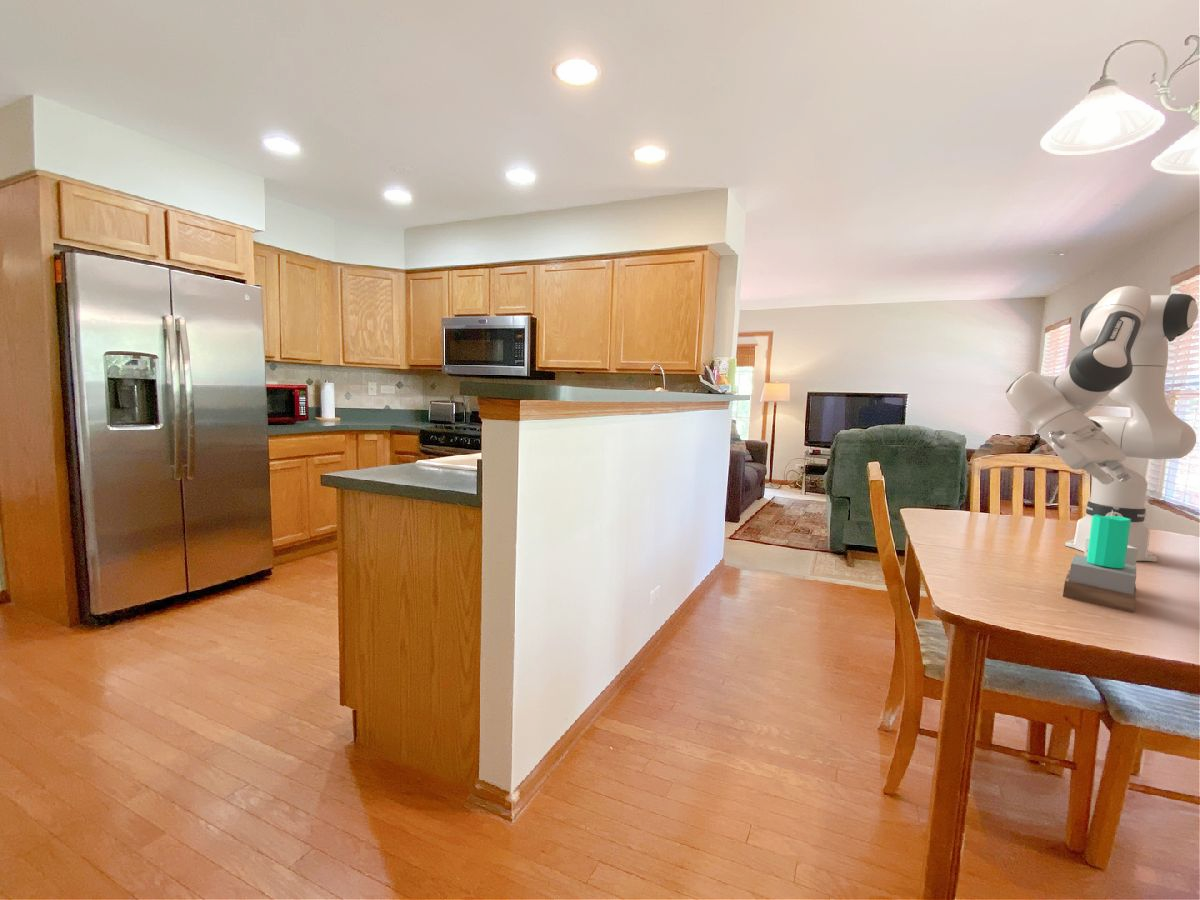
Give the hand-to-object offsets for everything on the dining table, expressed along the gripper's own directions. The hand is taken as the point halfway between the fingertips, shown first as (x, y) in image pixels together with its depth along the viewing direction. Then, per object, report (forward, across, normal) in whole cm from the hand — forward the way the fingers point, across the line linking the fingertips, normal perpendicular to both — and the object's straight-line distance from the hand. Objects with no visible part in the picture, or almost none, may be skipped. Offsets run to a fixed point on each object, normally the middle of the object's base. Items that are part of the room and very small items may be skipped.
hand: (1119, 481), depth 112 cm
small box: (+16, +12, +21) cm, 29 cm away
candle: (+13, +1, +14) cm, 19 cm away
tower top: (+15, +1, +16) cm, 23 cm away
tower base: (+18, 0, +19) cm, 27 cm away
